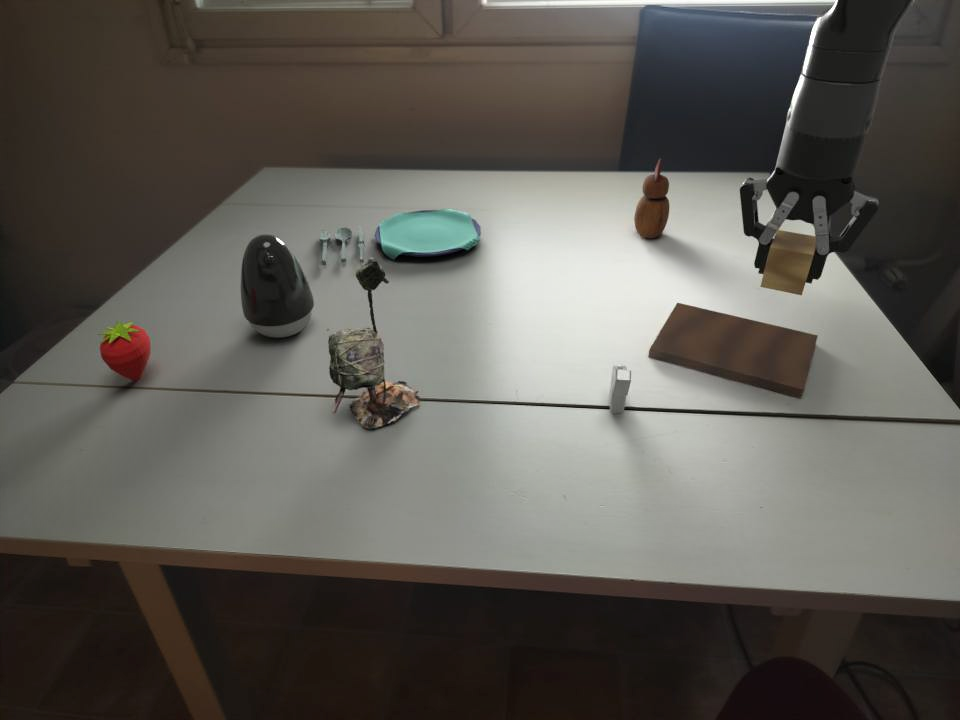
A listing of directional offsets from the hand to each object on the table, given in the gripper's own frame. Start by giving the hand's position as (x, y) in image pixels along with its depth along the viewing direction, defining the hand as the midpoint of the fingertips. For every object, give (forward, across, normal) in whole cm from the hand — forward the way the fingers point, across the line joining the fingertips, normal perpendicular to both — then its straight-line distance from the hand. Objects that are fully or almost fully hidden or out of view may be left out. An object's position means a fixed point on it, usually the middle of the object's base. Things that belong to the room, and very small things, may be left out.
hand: (785, 275), depth 76 cm
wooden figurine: (+17, +26, -41) cm, 52 cm away
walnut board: (+17, +4, -9) cm, 20 cm away
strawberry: (+17, +75, +34) cm, 84 cm away
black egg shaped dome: (+17, +66, +15) cm, 70 cm away
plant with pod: (+17, +42, +25) cm, 52 cm away
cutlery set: (+17, +66, -18) cm, 71 cm away
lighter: (+17, +14, +11) cm, 25 cm away
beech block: (+1, 0, 0) cm, 1 cm away
